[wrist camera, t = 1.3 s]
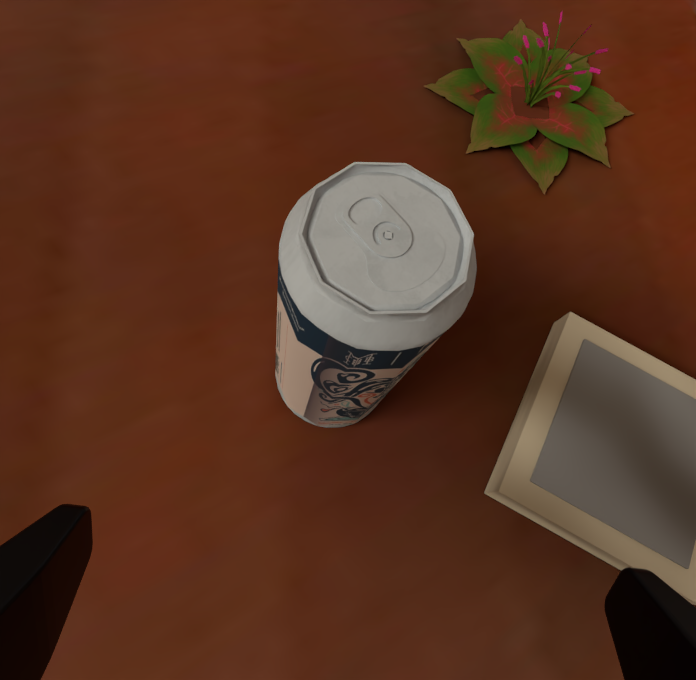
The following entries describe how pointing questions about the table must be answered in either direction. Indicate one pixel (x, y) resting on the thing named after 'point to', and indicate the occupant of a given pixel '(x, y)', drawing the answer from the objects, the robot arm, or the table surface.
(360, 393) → the beer can
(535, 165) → the lily flower
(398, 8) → the table surface
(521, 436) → the stand
